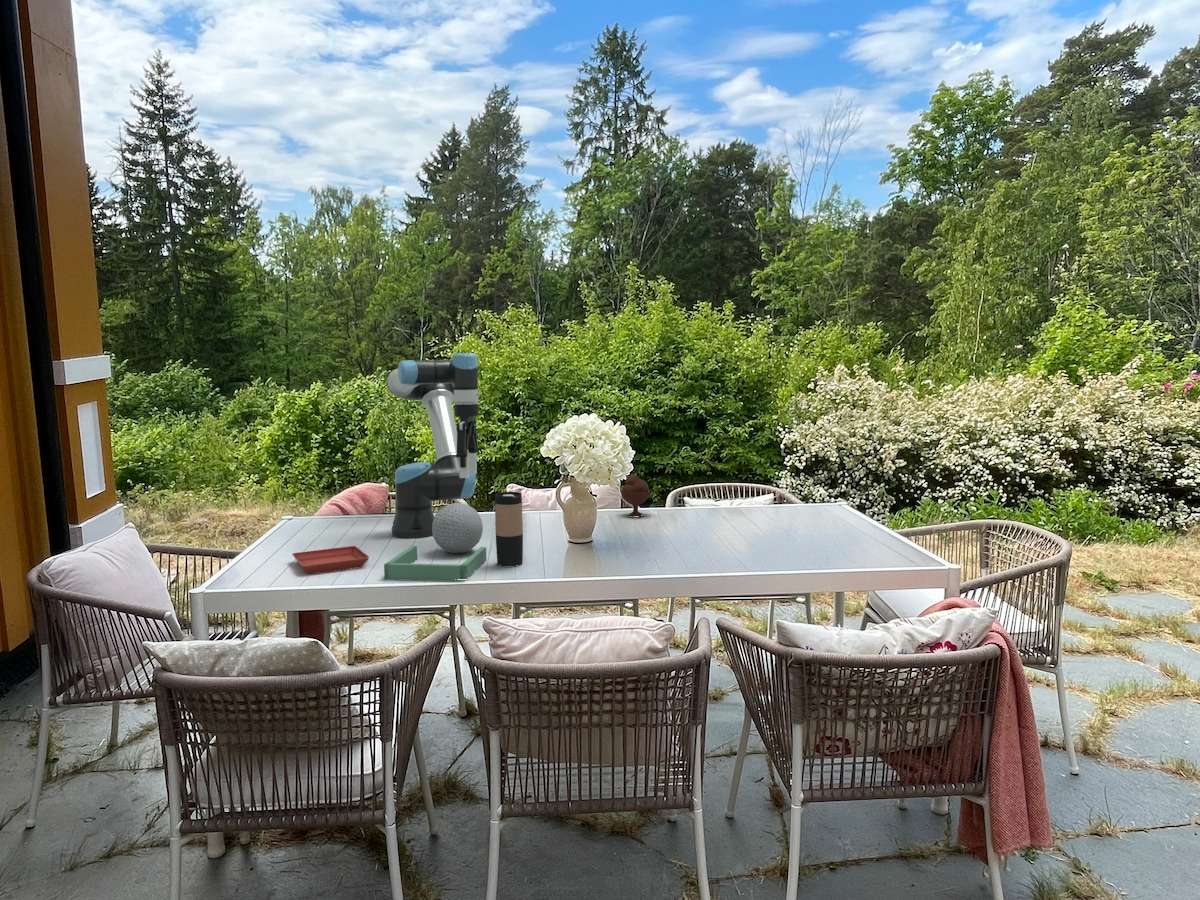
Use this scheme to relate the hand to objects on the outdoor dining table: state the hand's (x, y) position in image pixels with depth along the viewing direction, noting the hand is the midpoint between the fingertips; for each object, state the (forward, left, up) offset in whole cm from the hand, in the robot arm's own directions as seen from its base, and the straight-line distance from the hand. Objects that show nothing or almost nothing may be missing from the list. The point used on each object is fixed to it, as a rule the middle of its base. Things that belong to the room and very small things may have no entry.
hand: (468, 475), depth 255 cm
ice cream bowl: (+30, +61, -22) cm, 71 cm away
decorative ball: (+4, -12, -22) cm, 25 cm away
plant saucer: (-20, -39, -22) cm, 49 cm away
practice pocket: (+11, -30, -21) cm, 38 cm away
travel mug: (+26, -17, -22) cm, 38 cm away
